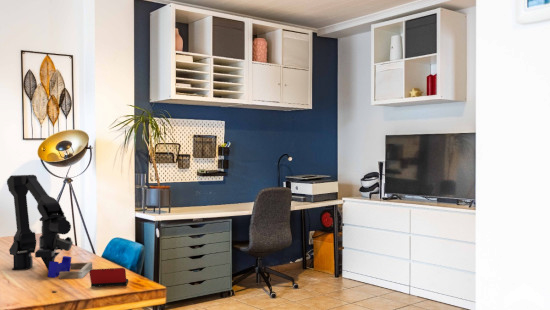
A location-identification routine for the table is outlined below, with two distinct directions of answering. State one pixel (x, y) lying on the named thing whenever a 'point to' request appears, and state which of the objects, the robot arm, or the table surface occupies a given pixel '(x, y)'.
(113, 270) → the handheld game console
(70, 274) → the slot rails
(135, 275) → the table surface
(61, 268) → the cable clip
